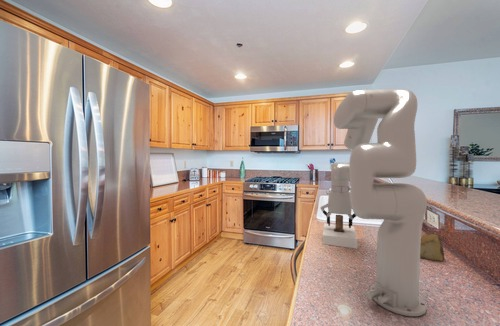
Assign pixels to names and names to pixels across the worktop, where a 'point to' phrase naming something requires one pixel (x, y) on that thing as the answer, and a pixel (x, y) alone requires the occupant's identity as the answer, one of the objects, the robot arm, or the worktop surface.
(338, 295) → the worktop surface
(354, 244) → the hole block
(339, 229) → the peg
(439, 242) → the rock
